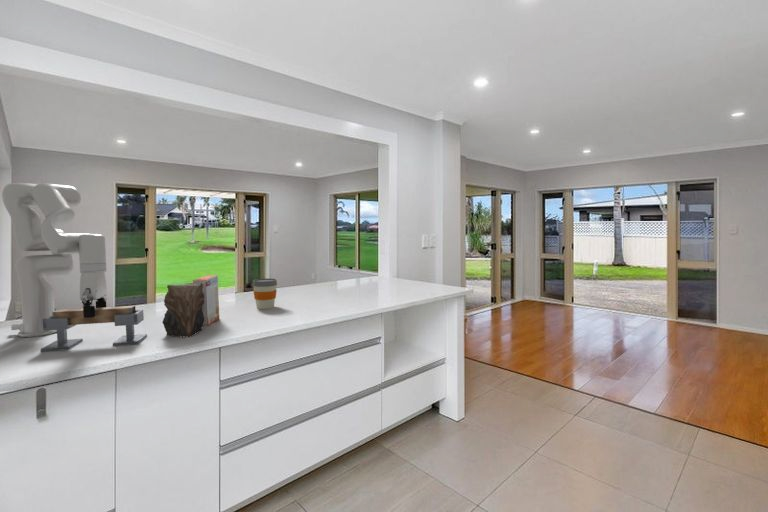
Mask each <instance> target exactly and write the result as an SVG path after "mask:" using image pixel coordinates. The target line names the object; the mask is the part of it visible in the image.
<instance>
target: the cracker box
mask: <svg viewBox="0 0 768 512" xmlns="http://www.w3.org/2000/svg"><path fill="white" fill-rule="evenodd" d="M218 276H219V275H215V274H214V275H213V274H212V275H208V274H207V275H203V276H201V277H198V278H195V279H193V280H192V283H194V284H200V283H202V285H203V289H202V291H203V293H204V304H203V306H202V312H203V315H204V323H203V326H202V327H209V326H211V325H212V324H214V323H215V322H216V321H218V320H219V319H220V306H219V305H220V303H219V301H220V300H219V299H220V298H219V297H220V296H219V277H218Z"/></svg>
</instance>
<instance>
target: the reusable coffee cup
mask: <svg viewBox="0 0 768 512" xmlns="http://www.w3.org/2000/svg"><path fill="white" fill-rule="evenodd" d="M277 285H278V282H277V278H256V279H253V280H252V287H253V297H254V300H255V304H256V308H257V309H259V310H267V309H270V310H271V309H273V308H275V301H276V298H277V291H278V289H277Z"/></svg>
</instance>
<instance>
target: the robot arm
mask: <svg viewBox="0 0 768 512" xmlns="http://www.w3.org/2000/svg"><path fill="white" fill-rule="evenodd" d="M1 198H2V202H3V205H4V207H5V209H6V211H7V212H8V214H9V217H10V219H11V222H12V228H13V229H12V230H13V234H14V239H15V244H16V247H17V248H18V250H19V251H21V252H24V253H43V252H45V253H46V252H51V254H34V255H33V254H31V255H25V256H22V257H20V258H18V259H17V260H16V262H15V263H14V265H15V266H14V267H15V272H16V275H17V278H18V282H19V288H20V289H19V291H20V301H21V303H20V304H21V316H22V317H21V318H22V323H18V324H17V323H16V324H11V326H10V327H11V331H17V330H18V333H17V336H18V337H20V338H30V337H32V338H33V337H40V336H46V335H52V334H55V333H57V330H48V331H43V319H45V318H47V317H50V316H52V312H54V311H56V309H55V295H54V288H53V285H51V284H50V282H48V281H47V279H50V278H58V277H59V278H60V277H66V276H70V274H72V272H73V271H74V261H73V255H72V254H78V256H79V257H78V258H79V259H78V260H79V272H80V278H79V300H81V304H82V308H83V314H84V318H91V317H95V308H102V307H107V282H106V281H107V279H106V272H107V258H106V257H107V255H106V253H107V252H106V237H105V236H104V235H103V234H100V233H99V234H98V233H88V232H87V233H86V232H84V233H83V232H78V233H77V232H65V231H64V230H62V229H59V228H58V227H59V226H63V225H66V224H68V223H69V222H71V221H72V220H73V219H74V218H75V211H74V209H73V207H74V208H75V207H78V205H80V203H81V199H82V197H81V193H80V191H79V190H78V189H77V188H76V187H74V186H72V185H66V184H55V183H47V182H46V183H45V182H44V183H32V182H31V183H30V182H28V183H27V182H12V183H8V184H6V185H5V186H4V187H3V189H2V191H1ZM30 206H37V207H38V208H39V210H40V211H41V213H42V214H43V216H44V217H45V218H44V220H43V221H42V218H41V216H40V214H39V213H38V212H37V211H36V210H34V209H33V208H32V207H30ZM94 304H95V305H94Z"/></svg>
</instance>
